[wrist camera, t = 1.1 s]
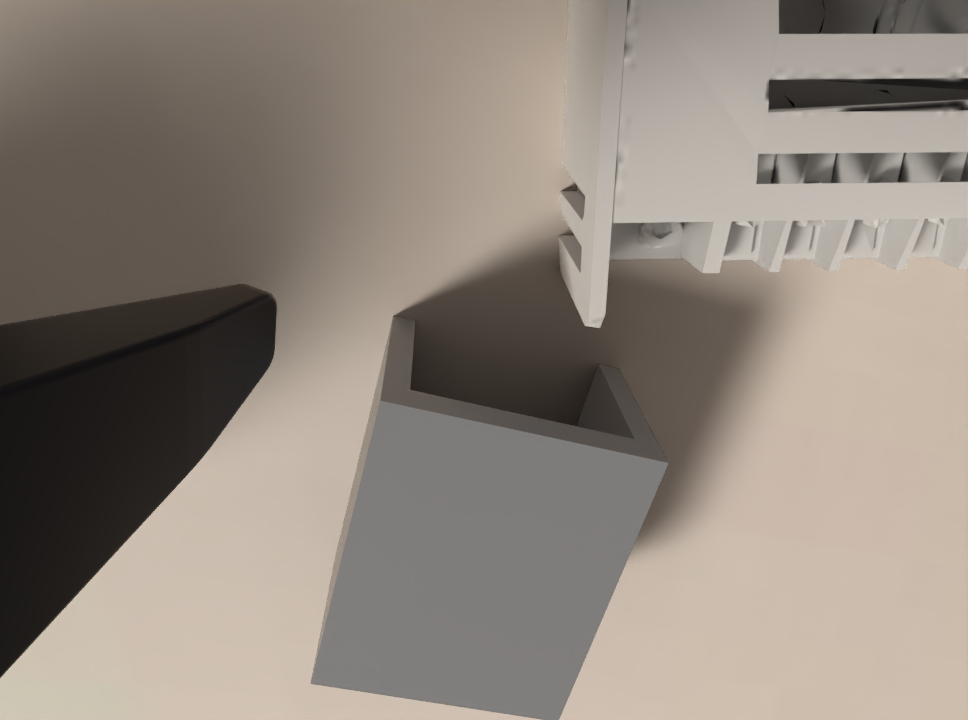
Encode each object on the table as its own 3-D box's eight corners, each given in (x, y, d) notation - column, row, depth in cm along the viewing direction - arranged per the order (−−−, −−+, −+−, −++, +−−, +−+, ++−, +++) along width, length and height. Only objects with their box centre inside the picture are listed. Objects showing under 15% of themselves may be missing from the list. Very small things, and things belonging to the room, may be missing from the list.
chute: (535, 589, 24) (557, 721, 19) (336, 553, 23) (310, 683, 18) (618, 368, 21) (668, 463, 16) (393, 315, 20) (380, 400, 15)
